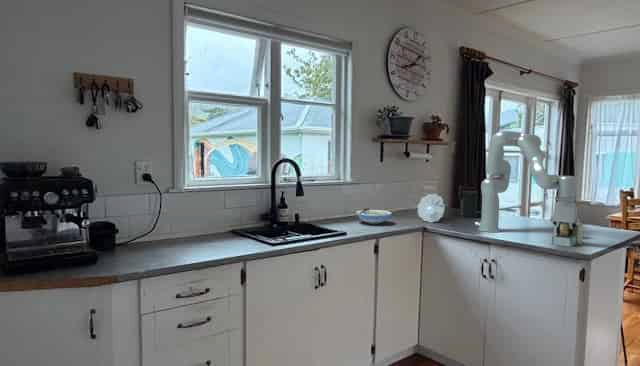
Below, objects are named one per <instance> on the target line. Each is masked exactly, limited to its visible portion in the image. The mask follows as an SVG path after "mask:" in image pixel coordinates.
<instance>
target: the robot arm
mask: <svg viewBox="0 0 640 366" xmlns="http://www.w3.org/2000/svg"><path fill="white" fill-rule="evenodd" d="M541 145H542V140H541V138H540V136H538V135H537V134H533V133H532V134H531V133H525V132H520V131H512V130H502V131H501V130H500V131H498V132H496V133H494V134H493V135H492V136H491V137H490V139H489V145H488V153H487V160H486V168H485V170H486V173H487V174H488V175H490V176H494V177H487V178H484V180H482V181H481V183H480V184H481V185H480V189H481V220H480V222H478V221H475V222H474V225H475V226H479V227H478V229H477V230H479V231H481V232H486V233H499V232H502V229H501V228H500V227H499V220H500V219H499V218H500V197H499V194H503V193H505V192H506V191H507V190H508V188H509V185H510V180H511V179H510V178H511V174H512V173H511V172H512V166H511V163H510V162H509V161H508V160H507V159H504V157H505V149H504V147H516V148H519V150H520V151H521V152H522V154H523V155H524V157H525V158H526V160H527V162H528V163H529V171H530V174H531V176H532V177H531V178H533V180H534V182H535V183H536V185H538V187H540V189H543V190H556V189H557V190H558V191H557V196H555V197H554V200H556V202H555V204H554V208H553V215H552V216H551V217H550V219H549V221H550V222H551V223H552V224H553V226H554V225H555V226H556V227H557V229H556V233H557V235H559V231H560V222H564V223H569V226H570V228H569V230H568V236H569V237H570V236H571V235H572V234H573V228H574V227H576V226H577V225H579V224H581V223H582V222H581V221H580V219H579V218H578V209H577V208H578V207H577V203H576V202H575V201H576V186H577V184H576V183H577V182H576V181H577V179H576V177H575V176H573V175H558V174H549V173H548V172H547V171H546V169H545V167H544V163H543V162H544V160H545V158H546V155H545V153H544V151H543V150H542V149H541ZM574 222H577V223H575V224H574V225H573V223H574Z"/></svg>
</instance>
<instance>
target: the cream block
mask: <svg viewBox="0 0 640 366" xmlns="http://www.w3.org/2000/svg"><path fill="white" fill-rule="evenodd" d="M575 223H577V222H574V223H573V225H574V224H575ZM583 227H584V223H583V222H581V224H579V225H577V226H576V227H574V228H573V234H572V235H571V236H570V237H569V238H564V237H559V235H557V233H556V229H557V227H556V226H555V225H554V224H553V235H552V236H551V245H558V246H564V247H573V246H575V245H576V244H577V245H583V231H584V229H583Z"/></svg>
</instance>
